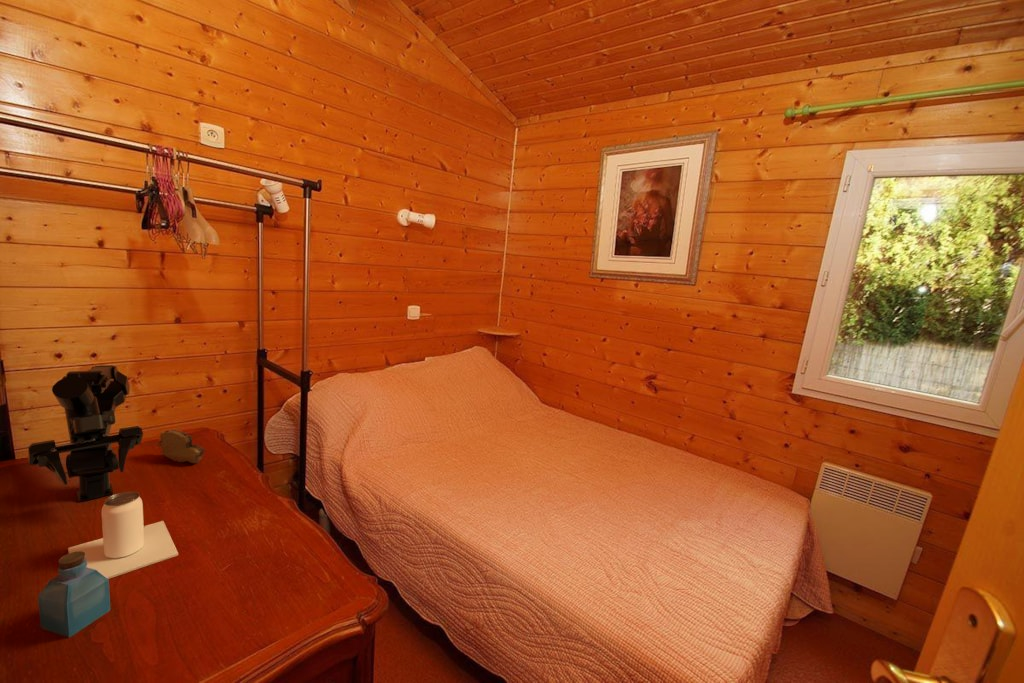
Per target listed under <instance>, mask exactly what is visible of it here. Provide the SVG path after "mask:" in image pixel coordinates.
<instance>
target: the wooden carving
mask: <svg viewBox="0 0 1024 683" xmlns="http://www.w3.org/2000/svg"><path fill="white" fill-rule="evenodd" d="M159 438H160V440H159V441H158V442H156V443H155V444H156V446H158V447H160V448H161V450H160V453H161V454H163V455H164V456H165V457H167V458H168V459H170V460H171V461H174V462H176V461H177V463H185V462H189V463H191V464H197V463H198V462H199V461H201V460H202V459H203V455H204V453H205V449H204V448H203V446H201V445H198V444H193V438H192V436H191V435H190V434H187V433H186V432H184V431H182V430H179V429H171V430H169V429H168V430H167V429H166V430H165V431H162V432H160V435H159Z"/></svg>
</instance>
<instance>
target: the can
mask: <svg viewBox="0 0 1024 683" xmlns="http://www.w3.org/2000/svg"><path fill="white" fill-rule="evenodd" d="M101 524H102V525H101V527H102V528H101V529H102V538H103V544H104V555H105V556H106V557H108V558H111V559H118V558H123V557H127V556H130V555H132V554H134V553H136V552H138V551H139V550H140V549H141V548H142V547H143V546H144V526H145V525H144V505H143V500H142V498H141V497H140V493H139V492H137V491H124V492H119V493H115V494H112V495H109V496H108V497H107V498H105V500H103V506H102V508H101Z"/></svg>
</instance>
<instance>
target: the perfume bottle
mask: <svg viewBox="0 0 1024 683" xmlns="http://www.w3.org/2000/svg"><path fill="white" fill-rule="evenodd" d="M84 557H85V552H81V551H79V552H73V553H69V552H68V553H67V554H65V555H63V556H62V557H60V558H59V560H58V563H59V565H58V567H57V568H58V569H57V572H58V575H57V576H54V577H53V578H52V579H49V581H48V582H47V584H46V585H45V586H44V588H43V589H42V590H41V592H40V593H39V594H38V596H37V598H38V609H39V612H38V613H39V620H40V629H41V628H44V629H46V630H45V631H47V630H48V631H47V632H50V631H51V632H50V633H54V634H56V633H57V635H60V636H63V637H66V638H69V639H70V638H71V637H73V636H75V635H76V634H77V633H79V632H80V631H82V630H84V629H85V628H86V627H88V626H90V624H92V623H94V622H95V621H96V620H99V619H100V618H101V617H102V616H104V615H105V614H108V613H109V612H110V611H111V601H110V600H111V597H110V583H109V579H107V578H106V577H105V576H103V575H102V574H101V573H99V572H98V571H97V570H95V569H91V568H87V567H86V566H87V559H86V558H84ZM44 629H43V630H44Z"/></svg>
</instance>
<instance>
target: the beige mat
mask: <svg viewBox="0 0 1024 683" xmlns="http://www.w3.org/2000/svg"><path fill="white" fill-rule="evenodd" d="M67 550H68V554H69V553H73V552H79V551H81V552H85V557H84V558H86V559H87V566H86V567H87V568H91V569H95V570H97V571H98V572H99V573H101V574H102V575H103V576H105V577H106V578H107V579H108V580H109V579H111V578H114V577H118V576H121V575H124V574H127V573H129V572H134V571H135V570H138V569H141V568H145V567H147V566H151V565H153V564H156V563H158V562H159V563H160V562H163V561H166V560H169V559H171V558H174V557H177V556H179V552H178V549H177V548H176V545H175V543H174V541H173V539H172V537H171V534H170V532H169V530H168V528H167V526H166V523H165V522H164V520H160V521H158V522H154V523H151V524H150V523H149V524H147V525H144V546H143V547H142V548H141V549H140V550H139V551H138V552H136V553H134V554H132V555H130V556H127V557H123V558H118V559H111V558H108V557H106V556H105V555H104V544H103V537H101V538H99V539H95V540H92V541H87V542H84V543H80V544H78V545H74V546H70V547H67Z"/></svg>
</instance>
